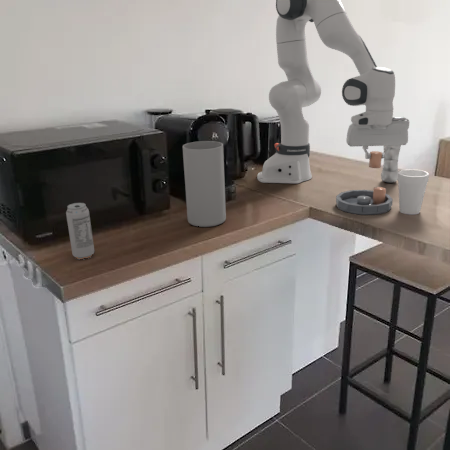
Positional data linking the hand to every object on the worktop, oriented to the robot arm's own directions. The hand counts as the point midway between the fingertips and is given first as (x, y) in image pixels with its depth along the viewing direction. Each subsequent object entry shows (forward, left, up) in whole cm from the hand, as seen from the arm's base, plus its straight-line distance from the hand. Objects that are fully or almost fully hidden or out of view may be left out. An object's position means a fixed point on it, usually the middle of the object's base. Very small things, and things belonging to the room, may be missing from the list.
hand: (375, 158), depth 176 cm
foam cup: (+9, -14, -15) cm, 22 cm away
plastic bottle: (+11, +20, -15) cm, 28 cm away
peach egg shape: (0, -8, -14) cm, 16 cm away
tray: (-5, -8, -15) cm, 17 cm away
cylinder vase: (-58, -19, -15) cm, 63 cm away
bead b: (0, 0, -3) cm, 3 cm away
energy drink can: (-91, -45, -15) cm, 102 cm away
